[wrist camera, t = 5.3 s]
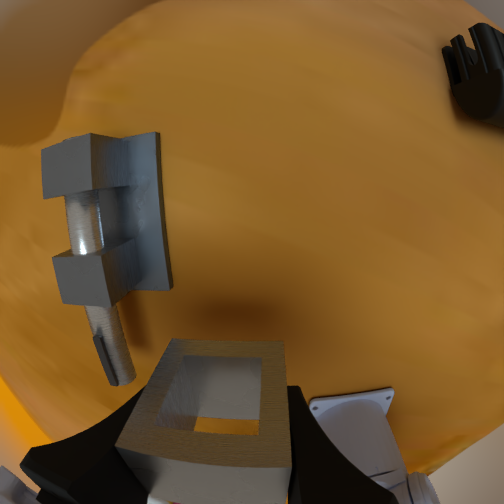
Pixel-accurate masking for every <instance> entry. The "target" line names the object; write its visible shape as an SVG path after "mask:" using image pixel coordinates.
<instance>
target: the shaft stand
mask: <svg viewBox="0 0 504 504" xmlns="http://www.w3.org/2000/svg"><path fill="white" fill-rule="evenodd" d="M41 165H42V186H43V199H49V198H54V197H60V196H64V198H65V208H66V217H67V225H68V232H69V238H70V245H71V249H69V250H67V251H65V252H63V253H61V254H58V255H56V256H54V257H52V260H53V265H54V270H55V274H56V278H57V283H58V287H59V291H60V294H61V298H62V302H63V304H73V305H84V308H85V311H86V315H87V318H88V321H89V325H90V328H91V331H92V334H93V341H94V344H95V347H96V349H97V352H98V355H99V358H100V360H101V363H102V366H103V368H104V371H105V373H106V376H107V378H108V380H109V383H110V385H112V386H118V385H126V384H129V383H131V382H132V381H133V380H134V379H135V378H136V371H135V368H134V365H133V362H132V359H131V356H130V352H129V349H128V346H127V343H126V339H125V336H124V332H123V329H122V325H121V321H120V317H119V314H118V310H117V305H116V303H117V302H118V301H119V300H120V299H122V298H123V297H124V296H125V295H126V294H127V293H128V292H129V291H130V290H162V291H170V290H171V288H172V287H173V281H172V274H171V266H170V259H169V251H168V242H167V233H166V224H165V213H164V202H163V189H162V173H161V153H160V133H157V132H151V133H145V134H140V135H135V136H130V137H126V138H121V139H118V138H113V137H108V136H103V135H98V134H93V133H89V134H85V135H82V136H77V137H72V138H68V139H66V140H64V141H62V142H61V143H58V144H55V145H52V146H50V147H47V148H44V149H42V150H41Z"/></svg>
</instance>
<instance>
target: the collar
mask: <svg viewBox="0 0 504 504" xmlns="http://www.w3.org/2000/svg"><path fill="white" fill-rule="evenodd" d="M198 416H200V417H211V418H226V419H252V420H259V435H233V434H218V433H206V432H196V431H194V427H195V424H196V420H197V417H198ZM115 447H116V449H117V450H118V452H119V453H120V455H121V456H122V458H123V459H124V461H125V462H126V464H127V465H128V467H129V468H130V469H131V471H132V472H133V473H134V475H135V476H136V478H137V479H138V480H139V481H140V483H141V484H142V485H143V487H144V488H145V489H146V490H147V492H148V493H149V494H150V495H151V496H152V497H153V498H157V499H161V500H166V501H170V502H175V503H180V504H285V502H286V497H287V492H288V487H289V481H290V475H291V470H292V459H291V441H290V425H289V410H288V396H287V382H286V369H285V357H284V344H283V341H212V340H190V339H174V338H172V339H171V341H170V343H169V345H168V347H167V348H166V350H165V352H164V354H163V356H162V357H161V359H160V361H159V363H158V365H157V367H156V368H155V370H154V372H153V374H152V376H151V378H150V379H149V381H148V383H147V385H146V387H145V389H144V390H143V392H142V394H141V396H140V398H139V400H138V402H137V404H136V405H135V407H134V409H133V411H132V413H131V415H130V417H129V419H128V421H127V423H126V424H125V426H124V428H123V430H122V432H121V434H120V436H119V438H118V440H117V442H116V444H115Z"/></svg>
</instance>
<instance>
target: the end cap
mask: <svg viewBox="0 0 504 504" xmlns="http://www.w3.org/2000/svg"><path fill="white" fill-rule="evenodd" d="M468 30H469V32H470V35H471V38H472V41H473V43H474V46H475V49H476V50H474V49H471V48H469V47H467V46H466V44H465V41H464V38H463V36H462V35H457V36H456V37H454V38H453V39H451V40H450V42H451V45H452V47H450V46H445V47H444V48H443V49H442V54H443V58H444V61H445V65H446V69H447V73H448V77H449V81H450V86H451V90H452V92H453V95H454V97H455V98H456V100H457V102H458V104H459V105H460V107H461V108H462V110H463V111H464V112H465V113H466V114H467V115H468V116H470V117H472V118H473V119H476V120H479V121H483V122H486V123H489V124H492V125H495V126H498V127H501V128H504V34H503V33H501V32H500V31H498V30H496V29H495V28H493V27H491V26H490V25H488V24H486V23H477V24H475V25H474V26H472V27H470V28H469V29H468Z"/></svg>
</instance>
